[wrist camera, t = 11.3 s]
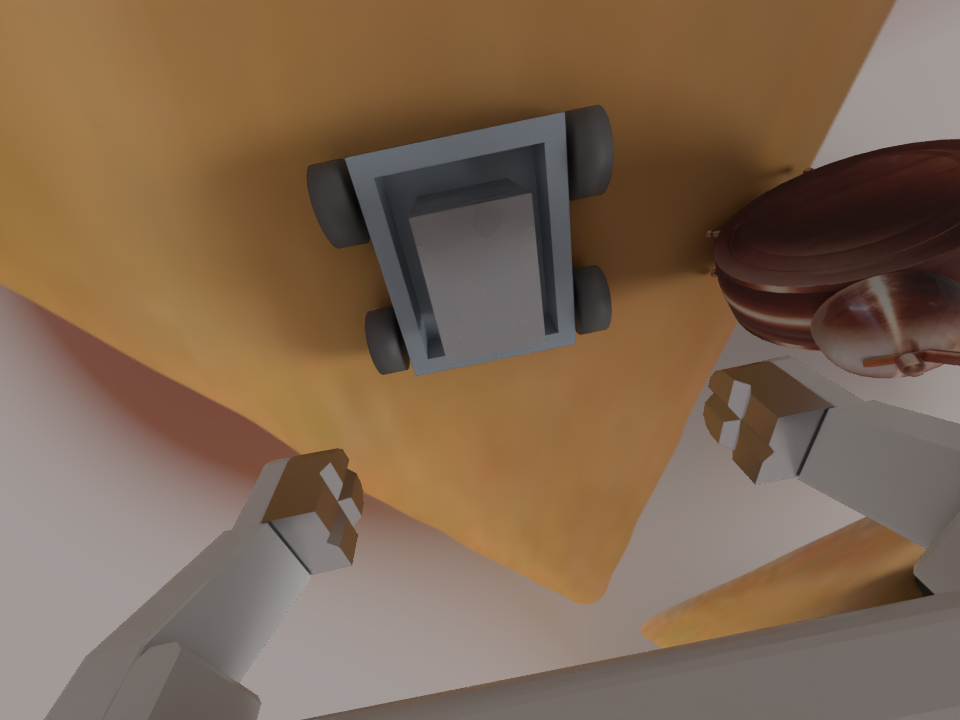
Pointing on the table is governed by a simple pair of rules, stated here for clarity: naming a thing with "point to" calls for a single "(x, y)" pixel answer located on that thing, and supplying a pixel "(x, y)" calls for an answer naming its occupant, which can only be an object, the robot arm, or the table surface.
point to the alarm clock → (854, 261)
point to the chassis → (455, 164)
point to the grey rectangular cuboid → (481, 267)
